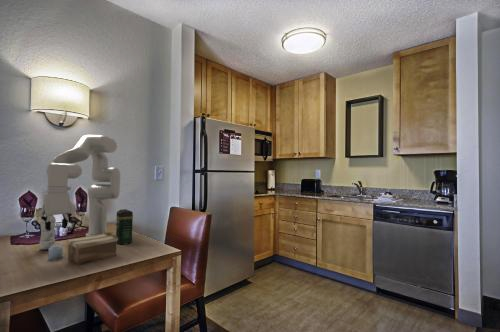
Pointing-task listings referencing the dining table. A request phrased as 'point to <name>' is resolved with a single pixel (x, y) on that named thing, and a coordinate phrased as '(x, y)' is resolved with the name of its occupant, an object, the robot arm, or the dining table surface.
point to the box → (91, 253)
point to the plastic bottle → (47, 234)
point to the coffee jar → (124, 226)
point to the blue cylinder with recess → (55, 252)
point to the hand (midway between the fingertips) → (56, 228)
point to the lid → (93, 240)
